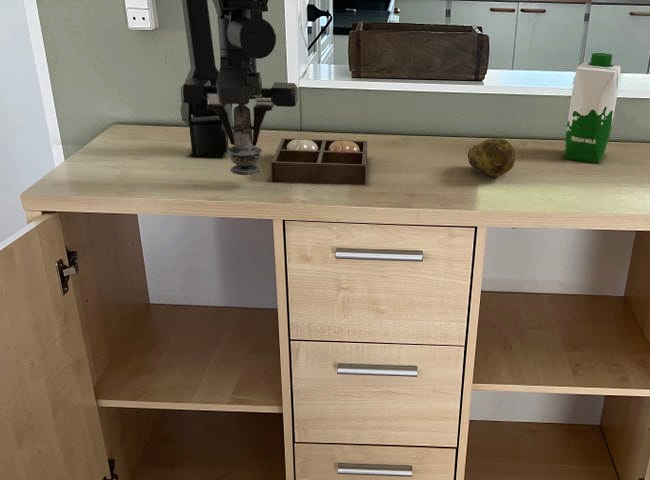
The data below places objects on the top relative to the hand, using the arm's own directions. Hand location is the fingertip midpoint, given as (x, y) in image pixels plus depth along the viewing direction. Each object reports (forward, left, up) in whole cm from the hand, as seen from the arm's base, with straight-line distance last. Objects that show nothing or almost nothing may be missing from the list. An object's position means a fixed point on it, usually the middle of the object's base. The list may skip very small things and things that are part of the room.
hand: (243, 144), depth 131 cm
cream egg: (+9, +15, -7) cm, 19 cm away
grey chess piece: (0, 0, -5) cm, 5 cm away
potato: (+45, +10, -8) cm, 46 cm away
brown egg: (+17, +15, -7) cm, 24 cm away
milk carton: (+67, +26, -8) cm, 72 cm away
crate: (+13, +11, -7) cm, 19 cm away
